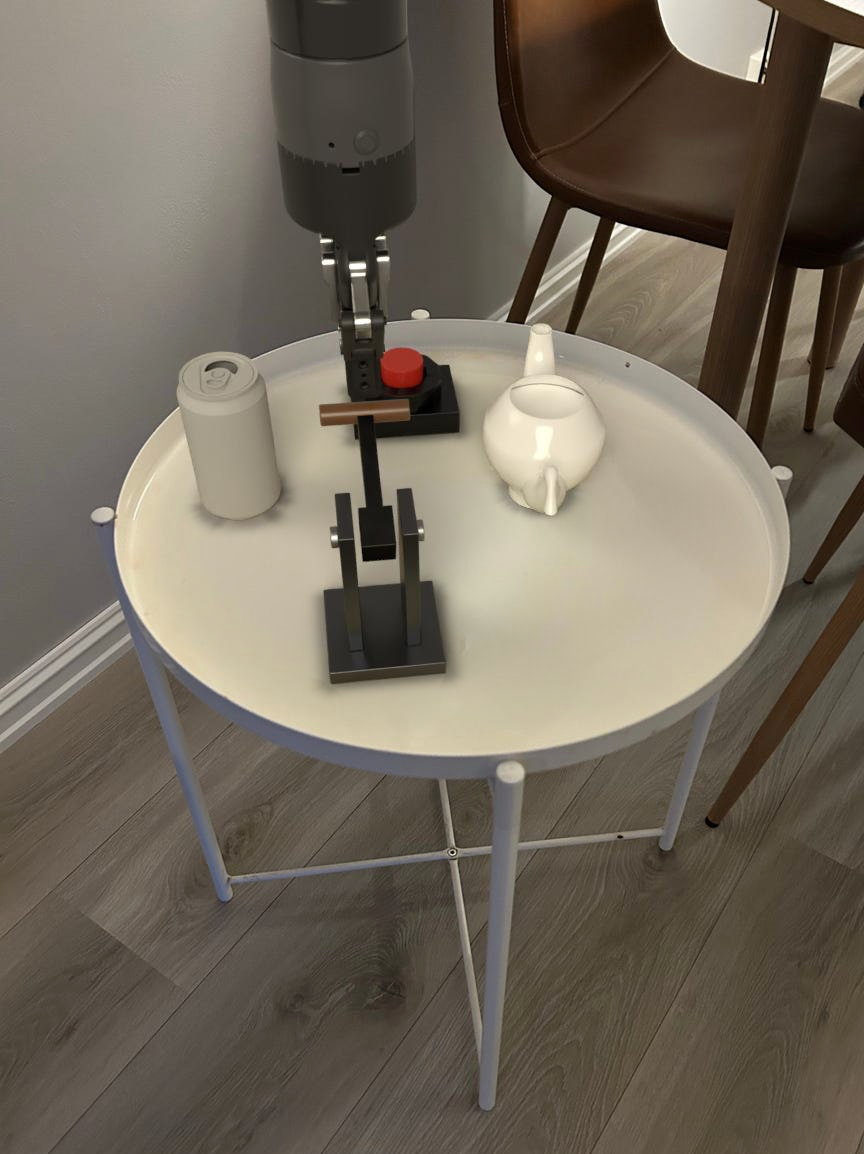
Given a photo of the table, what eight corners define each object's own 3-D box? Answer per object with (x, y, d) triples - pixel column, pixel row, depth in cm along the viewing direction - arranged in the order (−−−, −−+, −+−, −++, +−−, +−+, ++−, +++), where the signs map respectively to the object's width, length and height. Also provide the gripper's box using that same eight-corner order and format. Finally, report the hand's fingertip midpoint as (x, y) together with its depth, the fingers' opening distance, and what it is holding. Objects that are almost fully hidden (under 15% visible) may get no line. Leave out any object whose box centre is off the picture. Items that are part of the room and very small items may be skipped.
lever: (320, 415, 73) (317, 396, 71) (407, 409, 74) (408, 390, 71) (333, 565, 69) (331, 549, 67) (425, 557, 70) (426, 542, 68)
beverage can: (289, 476, 88) (272, 350, 79) (271, 529, 84) (251, 403, 75) (213, 469, 88) (187, 343, 79) (191, 522, 84) (161, 395, 75)
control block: (354, 440, 91) (351, 401, 88) (349, 391, 96) (346, 352, 93) (459, 432, 92) (460, 394, 89) (449, 384, 97) (449, 346, 94)
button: (383, 390, 90) (382, 373, 89) (379, 366, 92) (378, 348, 91) (425, 388, 90) (425, 370, 89) (421, 363, 93) (420, 346, 91)
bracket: (324, 600, 79) (309, 476, 70) (432, 591, 80) (431, 467, 71) (330, 684, 74) (315, 562, 65) (445, 673, 75) (446, 551, 66)
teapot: (480, 576, 81) (484, 481, 74) (479, 414, 94) (482, 321, 87) (607, 578, 81) (622, 484, 74) (588, 416, 94) (599, 323, 87)
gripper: (272, 77, 62) (303, 339, 75) (277, 186, 53) (311, 460, 66) (402, 72, 62) (410, 332, 75) (428, 179, 54) (432, 451, 67)
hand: (364, 391), depth 71 cm, fingers closed
